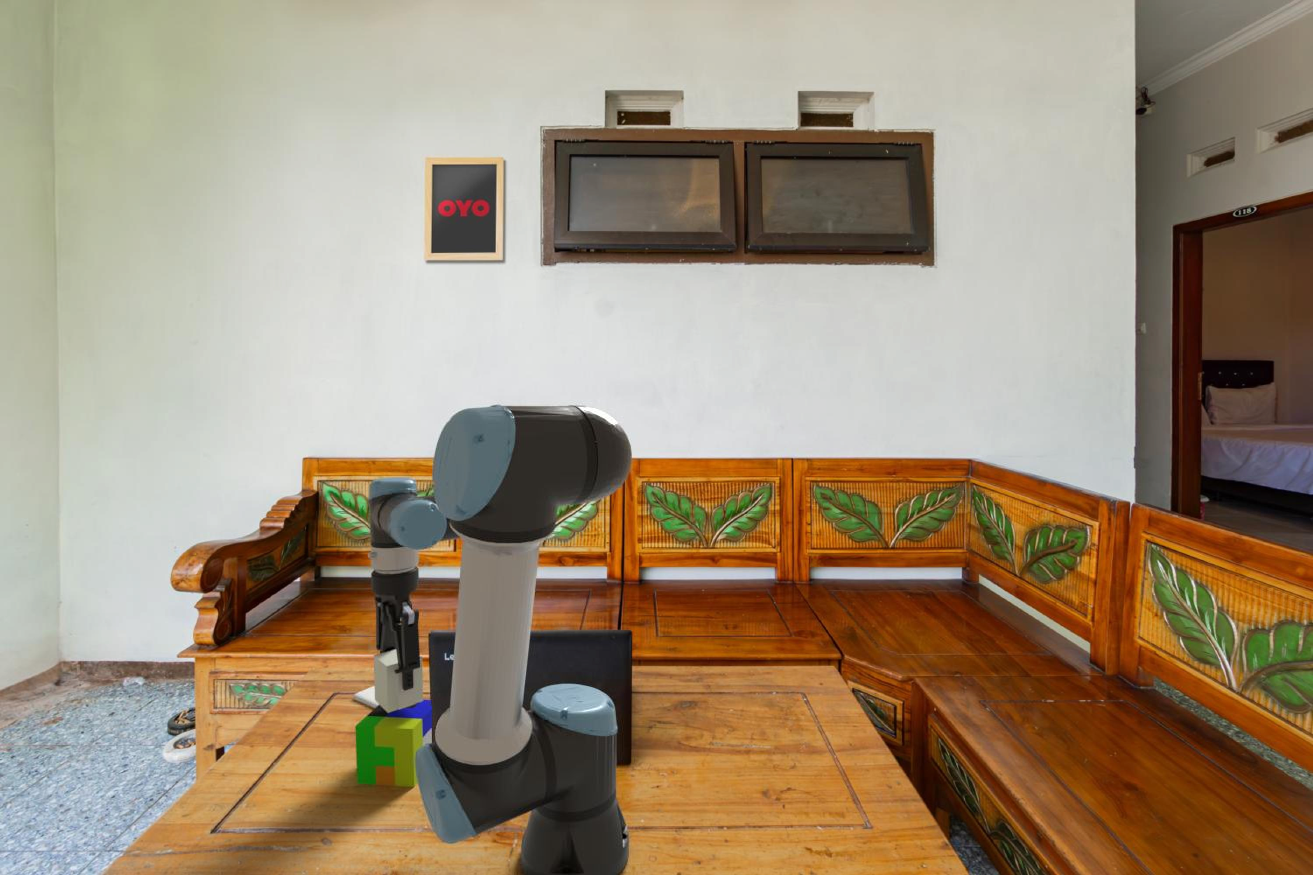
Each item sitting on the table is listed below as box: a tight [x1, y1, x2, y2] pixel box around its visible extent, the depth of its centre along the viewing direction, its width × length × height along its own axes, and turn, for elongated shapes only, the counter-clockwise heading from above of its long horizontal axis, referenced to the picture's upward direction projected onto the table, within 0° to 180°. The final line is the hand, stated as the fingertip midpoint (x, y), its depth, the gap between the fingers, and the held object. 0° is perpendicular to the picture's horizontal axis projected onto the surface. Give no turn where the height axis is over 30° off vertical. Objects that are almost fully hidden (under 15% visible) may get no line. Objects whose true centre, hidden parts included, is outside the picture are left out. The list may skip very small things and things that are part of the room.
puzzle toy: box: [354, 698, 432, 788], centre depth 110 cm, size 10×10×10 cm
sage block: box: [373, 649, 424, 713], centre depth 109 cm, size 6×6×8 cm
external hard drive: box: [353, 685, 379, 709], centre depth 136 cm, size 2×8×12 cm
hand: (398, 698), depth 110 cm, fingers closed on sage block, 6 cm apart
